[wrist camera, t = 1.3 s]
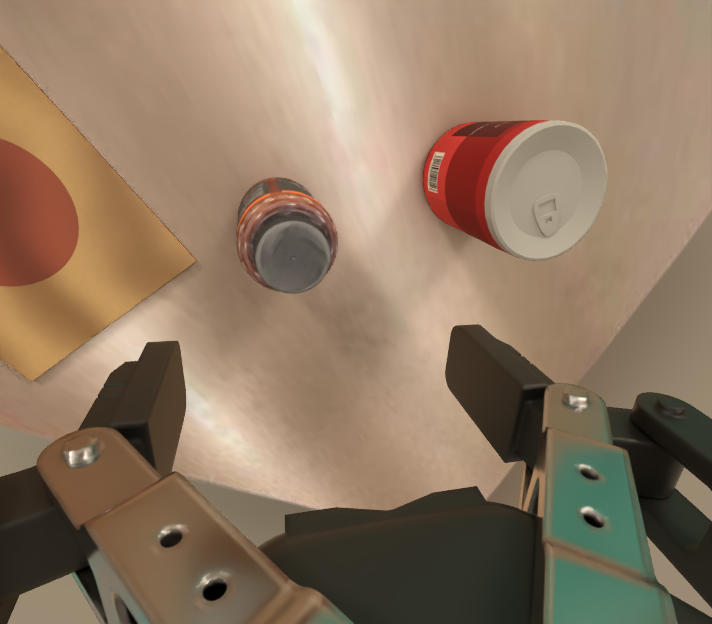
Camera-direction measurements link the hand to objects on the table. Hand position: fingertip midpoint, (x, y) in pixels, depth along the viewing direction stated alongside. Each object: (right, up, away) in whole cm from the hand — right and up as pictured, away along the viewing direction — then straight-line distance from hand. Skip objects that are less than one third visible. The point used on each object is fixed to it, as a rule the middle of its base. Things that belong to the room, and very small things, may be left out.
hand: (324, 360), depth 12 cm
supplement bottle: (-5, +9, +20) cm, 22 cm away
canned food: (+10, +13, +22) cm, 27 cm away
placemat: (-23, +8, +15) cm, 29 cm away
